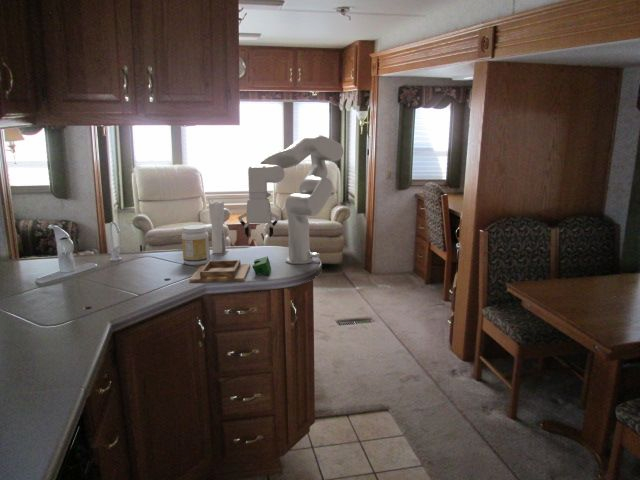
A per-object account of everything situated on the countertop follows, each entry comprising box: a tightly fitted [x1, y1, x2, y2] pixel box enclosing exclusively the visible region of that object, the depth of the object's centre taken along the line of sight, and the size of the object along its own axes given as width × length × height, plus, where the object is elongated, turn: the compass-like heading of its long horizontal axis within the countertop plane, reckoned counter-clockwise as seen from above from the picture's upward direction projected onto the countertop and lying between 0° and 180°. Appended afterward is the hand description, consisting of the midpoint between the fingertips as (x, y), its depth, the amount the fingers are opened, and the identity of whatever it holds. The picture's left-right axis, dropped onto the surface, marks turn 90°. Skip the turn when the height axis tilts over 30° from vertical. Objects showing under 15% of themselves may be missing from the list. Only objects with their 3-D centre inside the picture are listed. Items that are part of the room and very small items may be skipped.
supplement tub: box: [181, 224, 211, 266], centre depth 229 cm, size 12×12×17 cm
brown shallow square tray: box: [189, 259, 251, 283], centre depth 210 cm, size 22×22×4 cm
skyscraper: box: [207, 197, 229, 255], centre depth 246 cm, size 8×8×28 cm
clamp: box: [251, 255, 272, 277], centre depth 211 cm, size 12×6×9 cm, turn 175°
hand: (259, 236), depth 208 cm, fingers open, 9 cm apart
